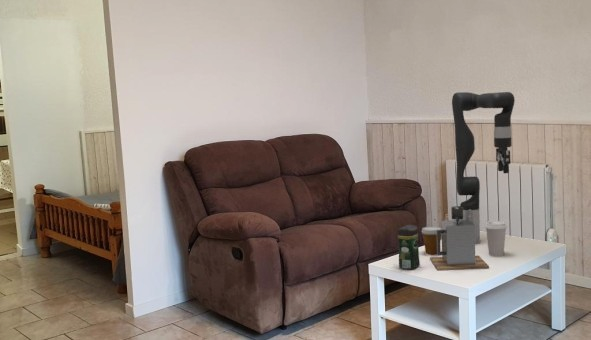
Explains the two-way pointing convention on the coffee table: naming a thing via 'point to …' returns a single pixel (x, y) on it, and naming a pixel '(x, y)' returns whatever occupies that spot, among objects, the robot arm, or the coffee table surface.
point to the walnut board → (441, 265)
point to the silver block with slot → (457, 242)
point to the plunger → (457, 213)
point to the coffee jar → (408, 247)
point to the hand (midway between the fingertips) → (503, 172)
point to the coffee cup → (496, 237)
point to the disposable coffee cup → (430, 239)
